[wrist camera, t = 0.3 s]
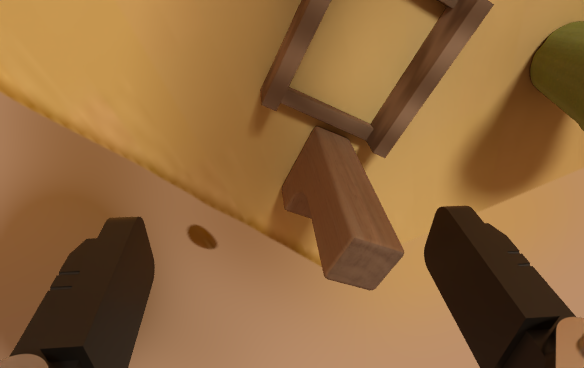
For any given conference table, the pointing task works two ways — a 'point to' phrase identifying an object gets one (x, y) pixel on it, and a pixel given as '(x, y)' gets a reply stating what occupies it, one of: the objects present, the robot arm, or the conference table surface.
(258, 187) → the conference table surface
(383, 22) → the conference table surface
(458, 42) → the wooden frame
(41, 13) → the conference table surface
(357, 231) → the wooden block
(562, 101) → the plant pot
